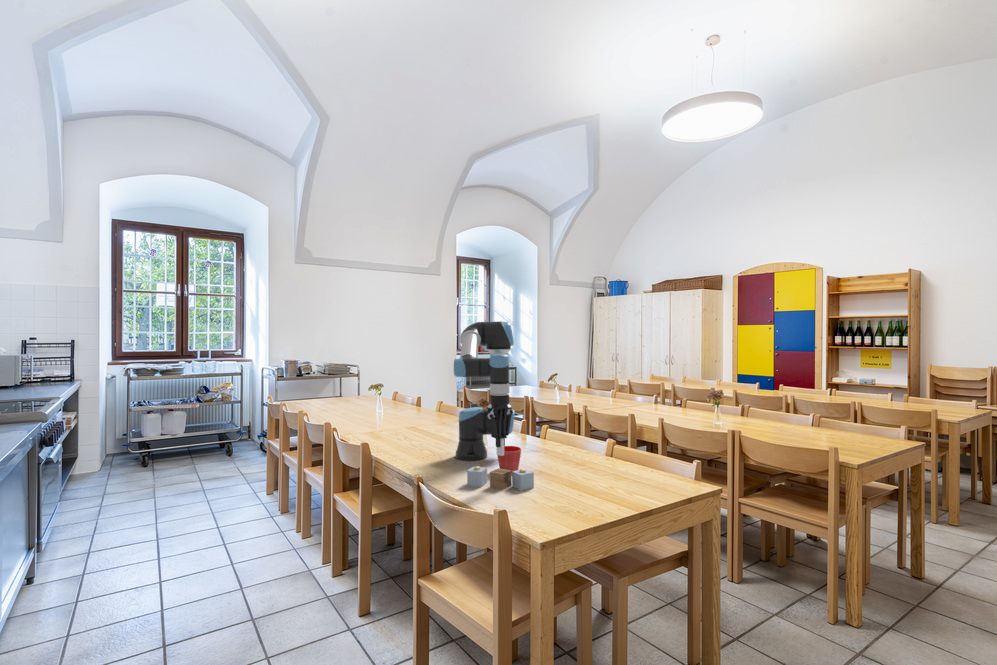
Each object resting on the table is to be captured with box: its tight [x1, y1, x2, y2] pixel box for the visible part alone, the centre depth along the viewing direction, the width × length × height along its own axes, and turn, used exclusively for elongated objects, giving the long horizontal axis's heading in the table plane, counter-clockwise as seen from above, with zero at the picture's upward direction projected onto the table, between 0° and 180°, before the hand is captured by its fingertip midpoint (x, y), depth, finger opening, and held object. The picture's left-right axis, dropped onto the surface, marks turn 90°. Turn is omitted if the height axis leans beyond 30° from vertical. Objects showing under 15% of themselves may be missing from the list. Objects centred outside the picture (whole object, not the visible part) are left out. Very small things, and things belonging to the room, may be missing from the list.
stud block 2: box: [511, 468, 535, 492], centre depth 193 cm, size 6×6×7 cm
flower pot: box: [496, 445, 522, 474], centre depth 216 cm, size 11×11×10 cm
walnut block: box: [489, 468, 512, 491], centre depth 194 cm, size 6×6×6 cm
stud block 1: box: [466, 465, 488, 488], centre depth 198 cm, size 6×6×7 cm
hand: (500, 454), depth 194 cm, fingers closed
